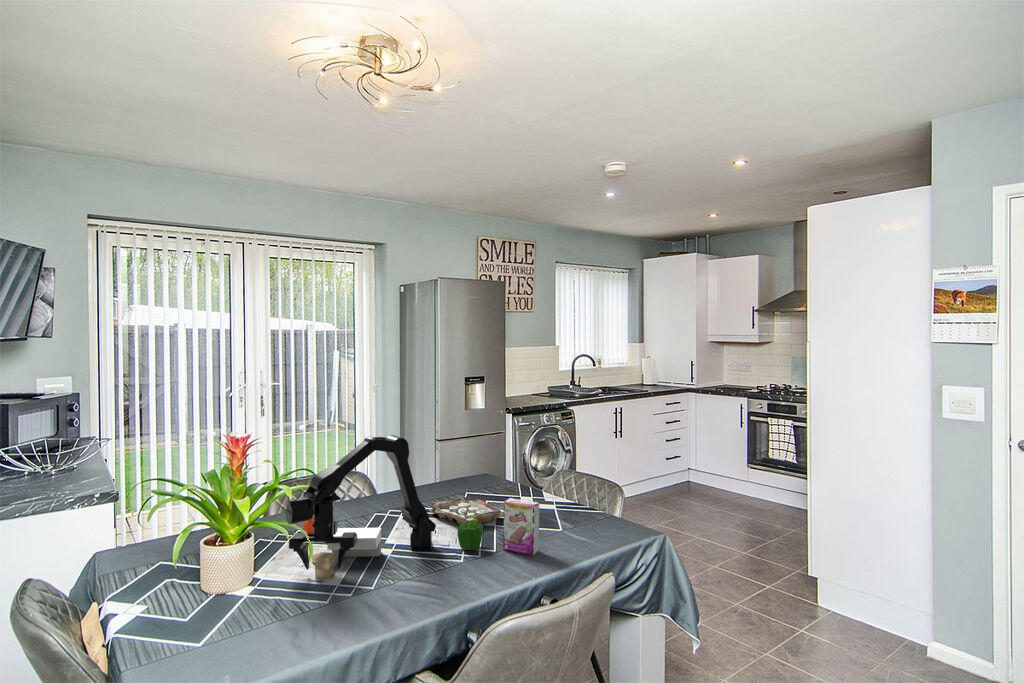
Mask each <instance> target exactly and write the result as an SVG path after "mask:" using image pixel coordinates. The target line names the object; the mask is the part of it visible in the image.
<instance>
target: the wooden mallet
mask: <svg viewBox="0 0 1024 683" xmlns="http://www.w3.org/2000/svg"><path fill="white" fill-rule="evenodd" d="M318 553H319V554H318V555H317V556H316V557H315V563H314V578H315V577H318V578H317V579H329V578H331V577H332V575H333V574H334V573H333V572H334V568H335V567H336V565H338V555H339V550H338V551H337V552H336V553H335V554H334V553H332V552H327V551H326V552H323V551H321V552H318Z"/></svg>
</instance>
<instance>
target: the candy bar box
mask: <svg viewBox="0 0 1024 683" xmlns="http://www.w3.org/2000/svg"><path fill="white" fill-rule="evenodd" d="M503 509H504V512H503V536H502V538H503V541H502V542H503V545H502V546H503V548H502V549H503V551H509V552H513V553H518V554H522V555H523V554H524V555H528V556H535V555H536V554H537V553H538V552H539V550H540V546H539V545H540V544H539V542H540V502H535V501H529V500H523V499H519V498H513V497H509V498H507V499H506V500H504V501H503Z"/></svg>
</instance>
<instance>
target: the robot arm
mask: <svg viewBox="0 0 1024 683" xmlns="http://www.w3.org/2000/svg"><path fill="white" fill-rule="evenodd" d="M409 447H410V446H409V442H408V440H407V439H405V438H403V437H400V436H397V435H395V434H391V435H388V436H387V437H383V436H372V435H370V436H369V435H368V436H367V437H365V438H364V439H363V441H361V442H360V443H359V444H358V445H356V446H355V447H354V448H353V449H352V450H350V451H349V452H348V453H347V454H345V456H343V457H342V458H341V459H339V461H337V462H336V463H335V464H333V465H331V466H329V467H326V468H325V469H322V470H321V471H320V472H317V473H316V474H315V475H313V477H311V479H310V480H311V481H310V485H309V486H308V488H307V489H306V490H305V492H304V494H303V495H302V496H303V497H300V498H299V497H298V498H291V499H288V500H287V504H286V507H285V510H284V511H285V512H284V513H285V520H286V522H287V524H288V525H294V524H298V523H303V522H304V521H309V520H310V519H311V518H313V534H312V536H309V534H308V533H307V532H295V533H294V534H293V535H292V536H291V537H290V539H289V540H288V549H289V550H293V552H296V553H297V555H298V556H299V558H300V559H301V561H302V564H303V566H304V567H305V569H306V570H307V571H308V570H309V569H310V556H309V555H310V554H309V546H310V545H311V544H312V545H313V544H324V545H325V544H327V543H340V546H341V547H340V548H339V555H338V563H337V569H338V570H340V569H341V567H342V565H343V561H344V555H345V553H346V551H348V550H350V548H353V547H354V546H355V544H356V542H357V534H356V533H355V532H344V533H343V535H342V536H334V535H335V534H336V532H337V530H338V528H339V521H335V515H334V511H335V510H334V509H335V508H334V505H335V504H334V502H335V501H341V499H342V497H340V496H339V494H337V493H336V490H338V489H339V487H340V486H341V485H342V483H343V480H344V479H345V478H346V477H347V475H348V474H349V473H351V472H352V471H353V470H355V468H356V467H357V466H359V464H361V463H362V462H363V461H364V460H366V459H367V458H368V457H369V456H370V455H372V454H373V453H374V452H375V451H379V452H385V453H386V457H387V458H389V460H390V462H392V464H393V467H394V471H395V473H396V474H395V475H396V476H397V481H398V484H399V487H400V491H401V494H402V498H403V501H404V505H403V507H402V508H400V513H401V515H402V521H405V522H406V523H407V524H408V527H409V528H412V530H411V533H410V534H409V536H410V538H409V540H410V541H409V542H410V546H409V547H410V548H411V549H410V550H411V552H426V551H427V552H429V551H432V546H433V542H432V541H433V540H432V538H433V537H432V535H433V534H432V533H433V532H435V531H436V530H435V529H436V528H437V525H436V523H435V522H433V521H432V519H430V515H429V513H428V511H427V509H426V507H425V506H424V504H423V503H422V501H420V497H419V496H418V491H417V488H416V485H415V481H414V476H413V474H412V471H411V467H410V463H409V457H410V448H409ZM315 493H316V494H315ZM304 533H306V534H307V536H308V538H309V540H310V542H311V544H309V541H308V540H307V538H306V536H305V534H304Z"/></svg>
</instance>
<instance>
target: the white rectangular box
mask: <svg viewBox="0 0 1024 683" xmlns="http://www.w3.org/2000/svg"><path fill="white" fill-rule="evenodd" d="M344 532H355V533H356V534H357V542H356V544H355V546H354V547H353V548H350V550H348V551H346V553H345V555H344V557H345V558H347V557H348V558H350V557H355V558H356V557H380V556H381V553H382V527H342V528H341V527H340V528H339V527H338V530H337V532H336V534H335V535H334V536H342V535H343V533H344ZM326 544H327V547H326V548H327V549H326V550H327V551H331V553H334V554H335V553H336V552H337V551H338V550H339V548H340V547H341V546H340V543H326Z"/></svg>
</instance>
